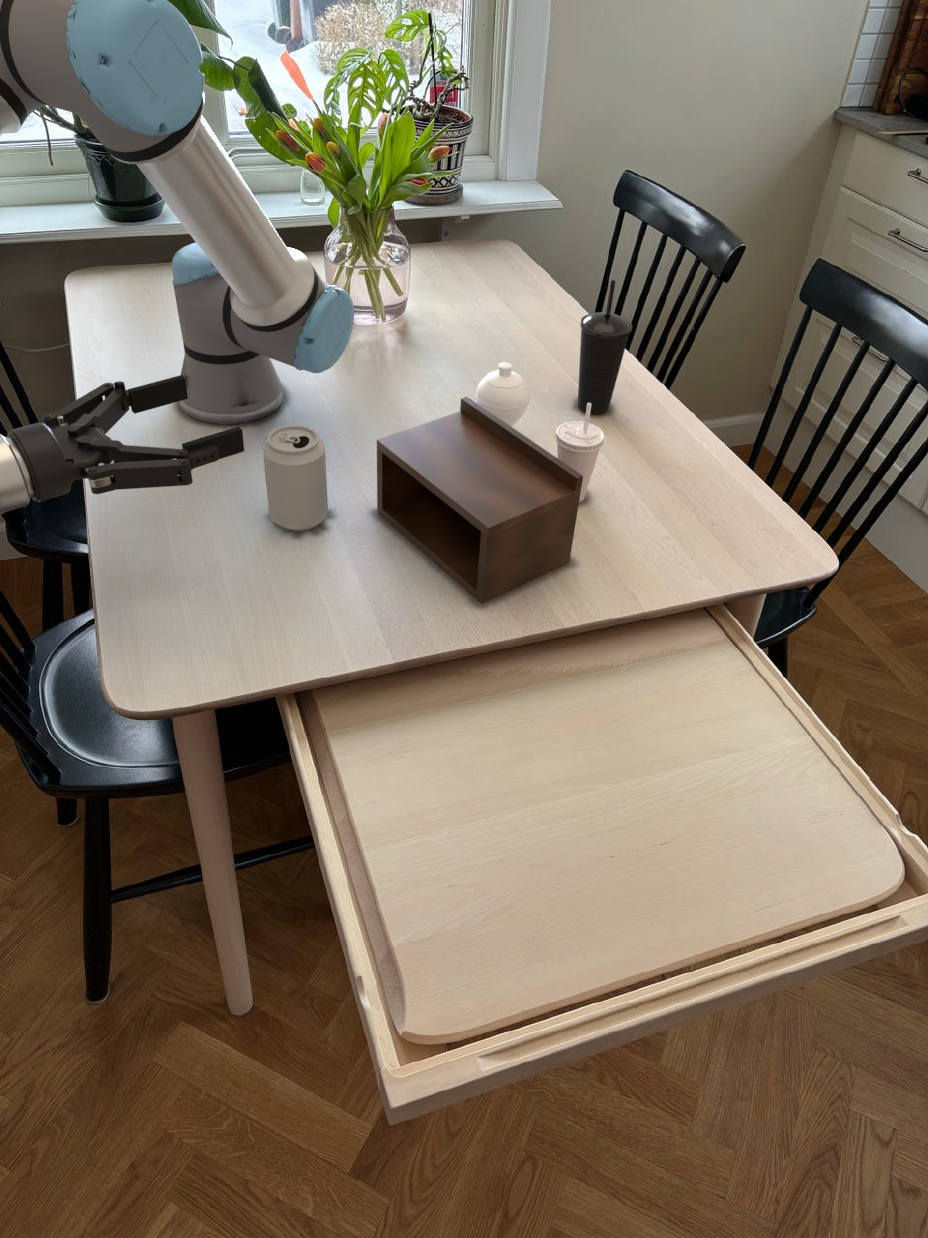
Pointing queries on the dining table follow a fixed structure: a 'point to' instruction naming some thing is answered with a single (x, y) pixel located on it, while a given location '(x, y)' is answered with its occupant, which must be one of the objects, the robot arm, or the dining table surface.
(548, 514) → the shelf
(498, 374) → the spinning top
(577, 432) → the smoothie
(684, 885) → the dining table surface
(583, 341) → the drinking cup
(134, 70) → the robot arm
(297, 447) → the can
